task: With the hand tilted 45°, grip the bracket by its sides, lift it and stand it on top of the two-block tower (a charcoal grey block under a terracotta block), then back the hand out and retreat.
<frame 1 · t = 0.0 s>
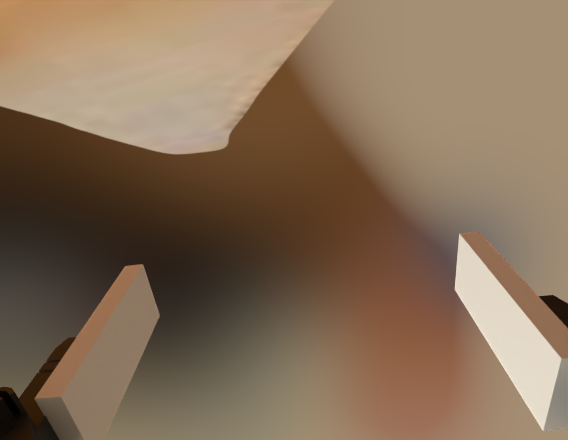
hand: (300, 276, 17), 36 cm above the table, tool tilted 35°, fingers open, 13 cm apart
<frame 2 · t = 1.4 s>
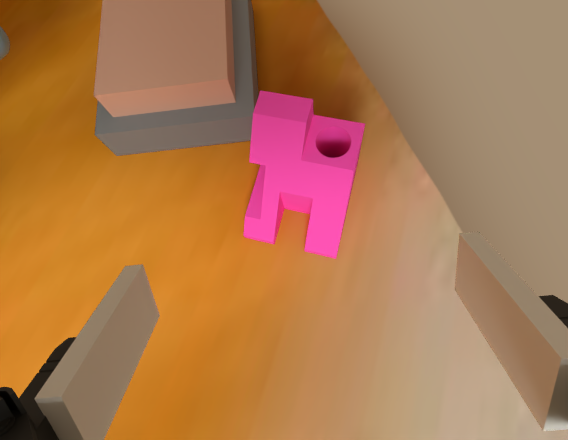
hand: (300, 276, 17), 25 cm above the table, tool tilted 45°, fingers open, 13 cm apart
bracket: (302, 198, 45), on the table
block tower: (188, 79, 51), on the table
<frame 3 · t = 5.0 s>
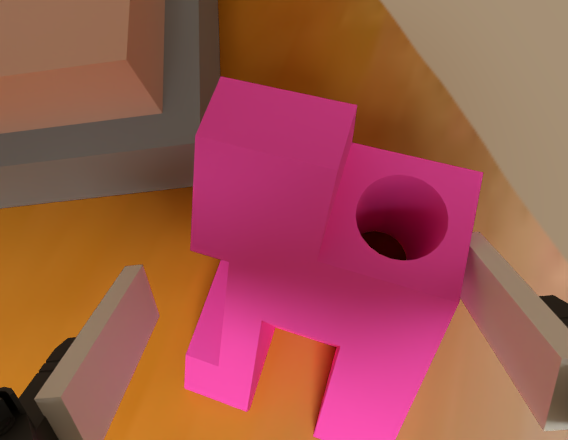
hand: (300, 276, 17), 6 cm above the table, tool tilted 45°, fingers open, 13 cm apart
bracket: (314, 306, 22), on the table, touching gripper
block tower: (96, 69, 28), on the table
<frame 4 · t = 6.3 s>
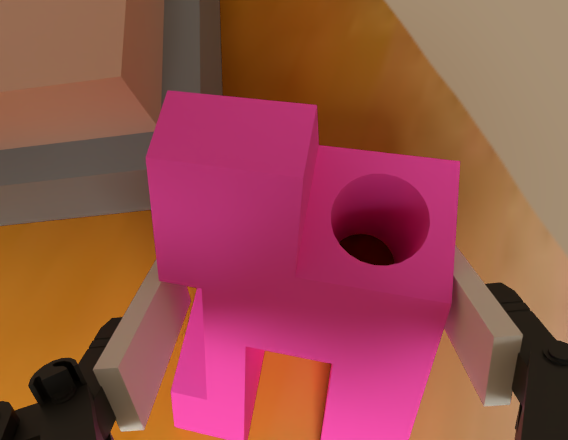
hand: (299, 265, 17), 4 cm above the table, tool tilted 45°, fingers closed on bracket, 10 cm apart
bracket: (303, 320, 21), on the table, touching gripper
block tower: (92, 79, 27), on the table
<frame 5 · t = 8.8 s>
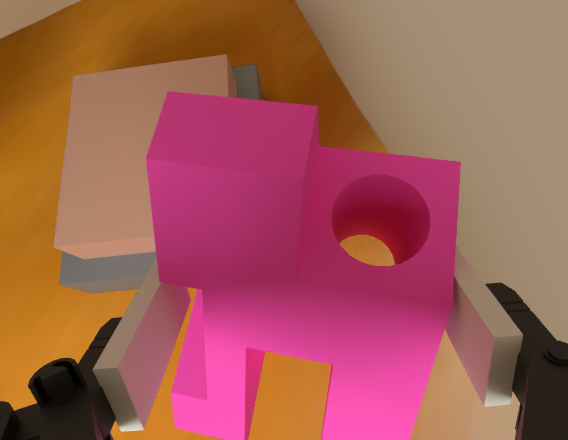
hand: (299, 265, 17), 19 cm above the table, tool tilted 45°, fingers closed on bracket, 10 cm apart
bracket: (304, 321, 21), point 15 cm above the table, touching gripper
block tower: (183, 188, 41), on the table
when the fingers open (15 cm above the table, at t = 11.6 s): bracket drops 1 cm, resting on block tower.
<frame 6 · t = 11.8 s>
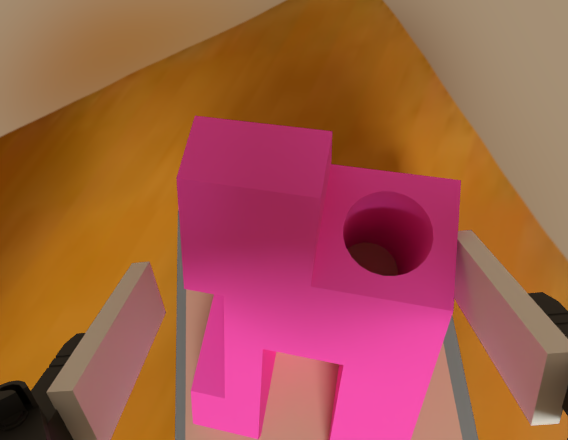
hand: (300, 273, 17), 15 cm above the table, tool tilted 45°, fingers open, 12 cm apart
bracket: (312, 324, 22), point 9 cm above the table, touching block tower
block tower: (314, 342, 30), on the table
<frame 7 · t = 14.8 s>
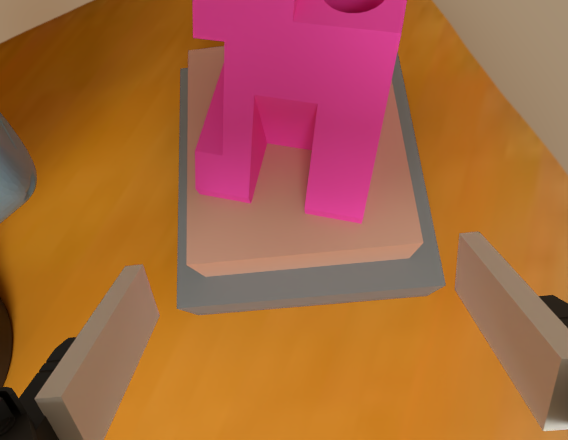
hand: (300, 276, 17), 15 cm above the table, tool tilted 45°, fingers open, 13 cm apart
bracket: (298, 126, 26), point 9 cm above the table, touching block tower
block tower: (299, 189, 34), on the table
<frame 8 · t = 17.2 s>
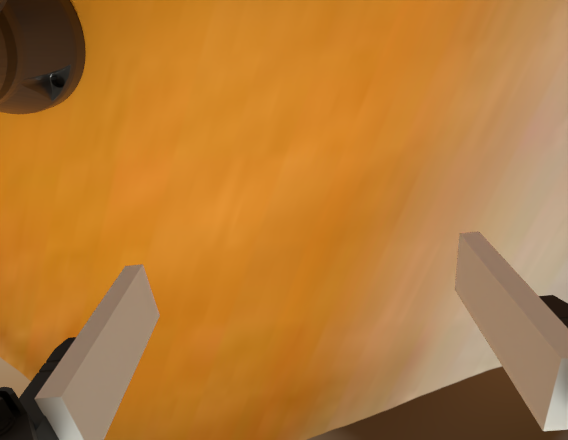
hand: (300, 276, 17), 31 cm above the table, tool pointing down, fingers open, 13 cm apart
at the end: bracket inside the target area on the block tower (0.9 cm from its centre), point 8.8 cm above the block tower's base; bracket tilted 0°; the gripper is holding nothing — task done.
